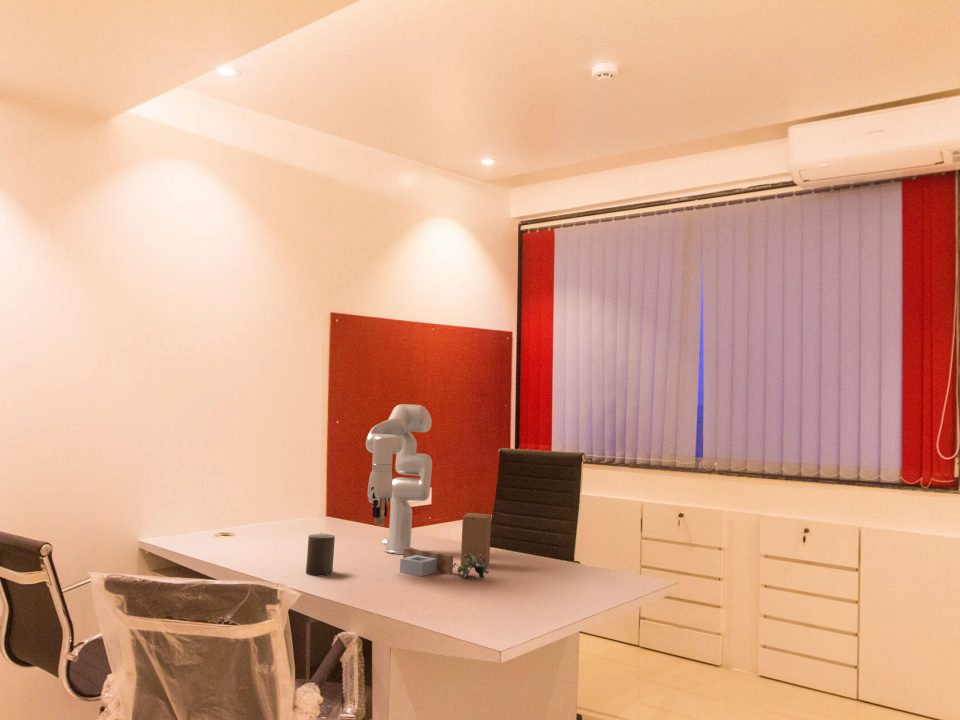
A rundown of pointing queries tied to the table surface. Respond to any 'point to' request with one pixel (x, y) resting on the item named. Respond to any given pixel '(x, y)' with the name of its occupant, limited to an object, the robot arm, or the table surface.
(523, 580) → the table surface
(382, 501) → the oak dowel
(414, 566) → the socket block
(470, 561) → the passion flower
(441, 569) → the walnut wall
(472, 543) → the wooden block
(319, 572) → the pillar candle
